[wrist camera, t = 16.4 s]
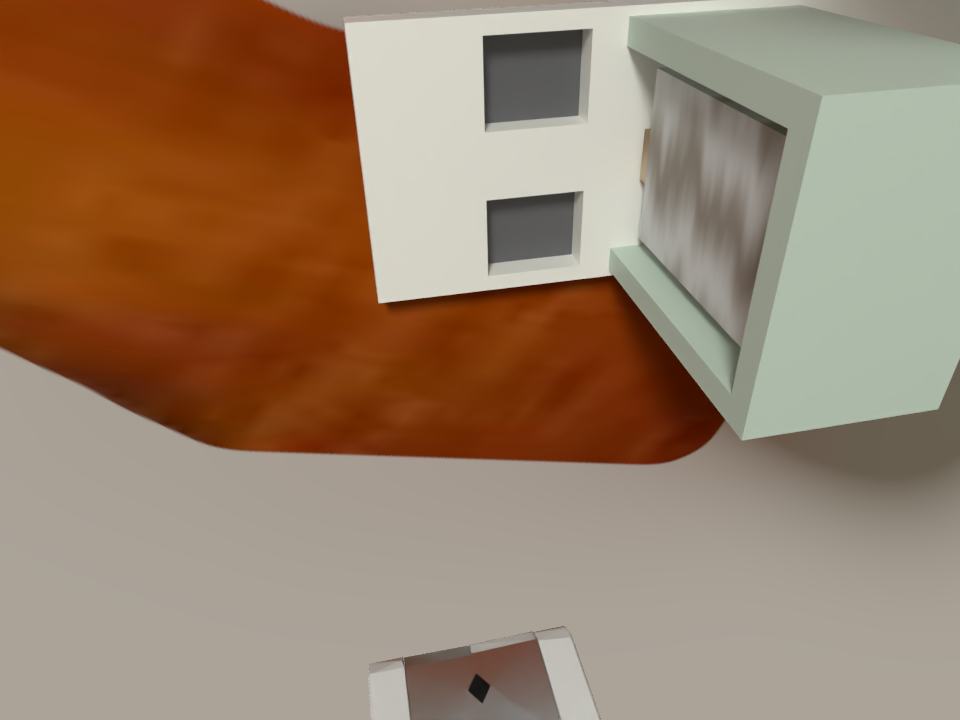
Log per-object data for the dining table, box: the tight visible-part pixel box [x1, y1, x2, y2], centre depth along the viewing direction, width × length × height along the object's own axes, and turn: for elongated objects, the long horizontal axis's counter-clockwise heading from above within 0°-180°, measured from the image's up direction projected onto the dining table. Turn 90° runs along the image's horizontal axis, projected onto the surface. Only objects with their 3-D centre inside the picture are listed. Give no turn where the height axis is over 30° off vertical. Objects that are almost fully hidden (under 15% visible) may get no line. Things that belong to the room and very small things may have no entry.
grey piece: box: [639, 67, 788, 347], centre depth 38 cm, size 10×21×14 cm, turn 91°
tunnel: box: [609, 5, 960, 440], centre depth 36 cm, size 15×10×18 cm, turn 1°
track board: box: [343, 0, 960, 303], centre depth 43 cm, size 16×36×2 cm, turn 91°
